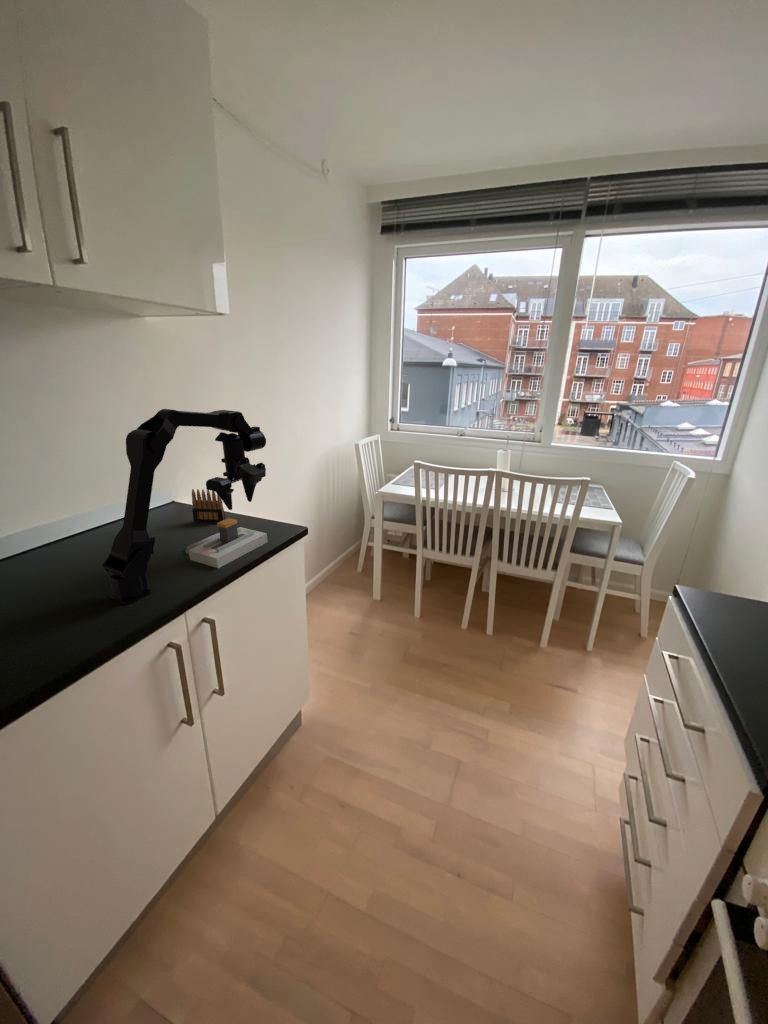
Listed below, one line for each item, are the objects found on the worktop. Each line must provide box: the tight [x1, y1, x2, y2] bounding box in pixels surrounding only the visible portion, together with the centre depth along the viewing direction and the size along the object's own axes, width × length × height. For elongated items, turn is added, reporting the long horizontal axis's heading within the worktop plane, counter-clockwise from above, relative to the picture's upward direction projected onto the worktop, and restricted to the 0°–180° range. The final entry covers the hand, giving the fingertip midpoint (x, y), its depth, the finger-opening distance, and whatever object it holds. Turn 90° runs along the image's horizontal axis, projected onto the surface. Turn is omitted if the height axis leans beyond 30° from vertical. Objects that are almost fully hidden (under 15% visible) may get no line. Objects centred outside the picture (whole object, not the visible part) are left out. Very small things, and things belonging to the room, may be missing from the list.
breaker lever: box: [216, 517, 238, 543], centre depth 124 cm, size 4×3×6 cm
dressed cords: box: [184, 532, 220, 555], centre depth 130 cm, size 17×3×1 cm, turn 154°
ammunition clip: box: [191, 488, 226, 524], centre depth 145 cm, size 11×2×12 cm, turn 88°
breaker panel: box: [188, 526, 268, 569], centre depth 125 cm, size 20×11×4 cm, turn 154°
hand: (240, 505), depth 126 cm, fingers open, 8 cm apart
